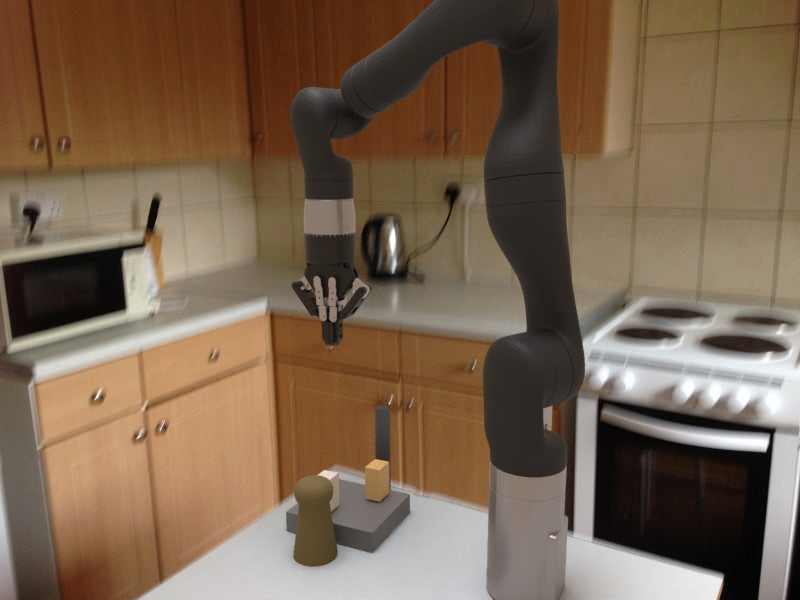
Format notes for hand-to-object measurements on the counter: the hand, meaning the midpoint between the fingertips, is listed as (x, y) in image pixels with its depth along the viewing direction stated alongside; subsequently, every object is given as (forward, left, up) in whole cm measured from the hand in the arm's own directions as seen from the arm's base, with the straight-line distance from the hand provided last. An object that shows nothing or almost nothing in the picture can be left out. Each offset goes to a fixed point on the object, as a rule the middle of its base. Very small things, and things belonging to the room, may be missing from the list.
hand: (332, 344), depth 110 cm
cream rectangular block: (-3, +8, -22) cm, 24 cm away
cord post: (-5, -6, -25) cm, 27 cm away
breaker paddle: (-8, +2, -22) cm, 24 cm away
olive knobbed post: (-5, +15, -26) cm, 30 cm away
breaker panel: (-5, +5, -25) cm, 26 cm away
